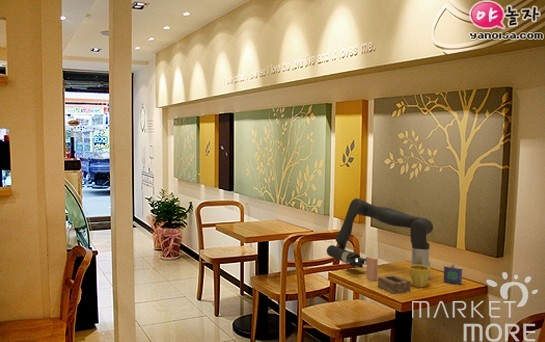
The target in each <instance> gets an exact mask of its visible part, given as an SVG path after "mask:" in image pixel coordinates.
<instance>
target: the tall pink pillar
mask: <svg viewBox="0 0 545 342" xmlns="http://www.w3.org/2000/svg"><path fill="white" fill-rule="evenodd" d="M378 261H379V260H378V258H377V257H373V256H367V265H366V279H368V280H369V281H371V282H376V281H377V282H378V266H379V265H378V264H379V263H378Z"/></svg>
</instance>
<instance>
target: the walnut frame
mask: <svg viewBox="0 0 545 342" xmlns="http://www.w3.org/2000/svg"><path fill="white" fill-rule="evenodd" d="M411 285H412V280H409V279H406V278H403V277H400V276H398V275H395V274H392V275H390V274H389V275H383V276H379V277H377V288H379V289H382V290H383V289H384V291H386V292H388V293H390V294H392V295H395V294H402V293H407V292H411Z"/></svg>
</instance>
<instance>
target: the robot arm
mask: <svg viewBox="0 0 545 342" xmlns="http://www.w3.org/2000/svg"><path fill="white" fill-rule="evenodd" d="M358 215H359V216H363V217H367V218H368V217H369V218H372V219H374V220H377V221H378V222H381V224H385V225H387V226H393V227H399V228H407V229H410V233H409V234H410V243H411V258H410V259H411V262H410V263H411V265H424V266H427V267H429V268H430V269H431V262H430V243H429V242H428V241H427V235H429V234H431V232H433V229H434V224H433V223H432V221H431V220H430V219H428V218H426V217H420V216H414V215H411V214H407V213H404V212H402V211H399V210H396V209H392V208H390V207H384V206H376V205H375V204H371V203H369V202H367V201H365V200H363V199H360V198H354V199H352V200H351V202H350V203H349V207H348V209H347V211H346V215H345V217H344V221H343V224H342V226H341V228H340V229H339V232H338V233H337V235H336V237H335V242H336V243H337V244H338V246H337V245H333V244H332V245H329V246H328V247H327V248H326V254H327V256H329V257H331V258H333V259H336V260H339V261H341V262H344V263H345V264H347V265H348V266H350V267H353V268H354V267H355V268H357V267H358V268H360V269H362V268H363V266H367V257H368V256H367V257H366V256H365V257H361V255H360V254H359V253H357V252H353V251H351V250H348V249H346V246H347V243H348V241H349V239H350V238H351V235H352V232H353V226H354V221H355V219H356V218H357V216H358ZM411 265H410V266H411ZM430 274H431V273H430ZM430 274H429V275H428V278H427V281H428V280H429V279H430V276H431V275H430Z"/></svg>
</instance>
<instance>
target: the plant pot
mask: <svg viewBox="0 0 545 342" xmlns="http://www.w3.org/2000/svg"><path fill="white" fill-rule="evenodd" d="M408 272H409V274H410V279H411V285H412V286H413V287H416V288H424V287H425V288H426V286H427V281H428V280H427V278H428V275H429V274H431V267H430V268H429V267H427V266H424V265H410V266H409V268H408Z"/></svg>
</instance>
